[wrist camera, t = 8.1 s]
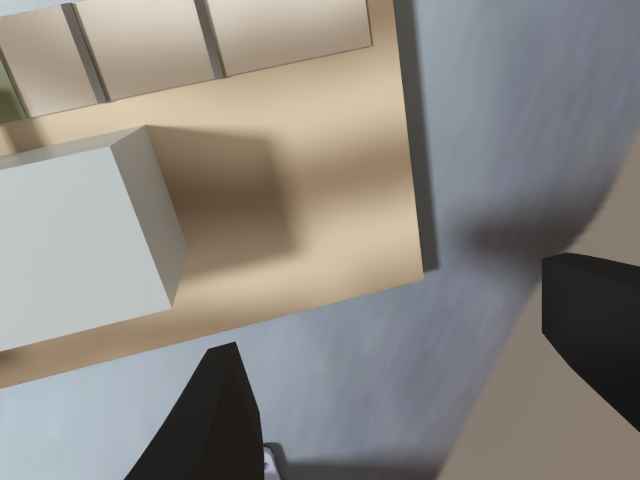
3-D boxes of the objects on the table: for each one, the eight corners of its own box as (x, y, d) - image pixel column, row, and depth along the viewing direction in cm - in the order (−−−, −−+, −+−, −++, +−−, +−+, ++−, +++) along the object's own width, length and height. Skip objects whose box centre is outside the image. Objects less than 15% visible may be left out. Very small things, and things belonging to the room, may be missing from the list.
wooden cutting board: (414, 268, 21) (425, 281, 19) (-162, 414, 19) (-192, 441, 17) (376, -49, 16) (388, -59, 14) (-420, 106, 14) (-490, 110, 12)
